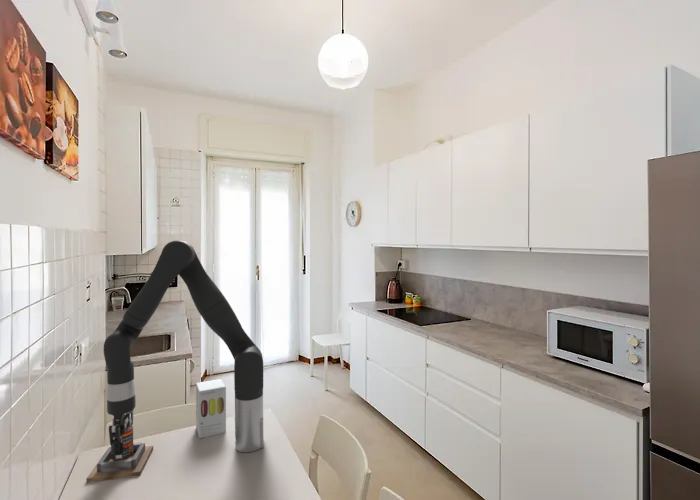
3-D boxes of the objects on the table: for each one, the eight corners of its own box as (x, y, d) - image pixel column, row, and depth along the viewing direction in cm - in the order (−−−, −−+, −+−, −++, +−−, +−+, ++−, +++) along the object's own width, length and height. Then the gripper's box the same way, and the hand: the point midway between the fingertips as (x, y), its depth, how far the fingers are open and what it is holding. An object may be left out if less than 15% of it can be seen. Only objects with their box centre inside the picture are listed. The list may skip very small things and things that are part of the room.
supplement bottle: (123, 463, 111) (122, 426, 111) (106, 461, 113) (105, 424, 112) (138, 452, 117) (137, 417, 117) (122, 450, 119) (121, 415, 118)
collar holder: (153, 449, 124) (153, 438, 123) (140, 475, 110) (140, 463, 110) (105, 455, 120) (105, 443, 120) (86, 482, 107) (86, 470, 106)
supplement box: (198, 439, 130) (197, 391, 129) (195, 427, 138) (194, 382, 137) (226, 432, 135) (226, 386, 134) (222, 421, 143) (221, 377, 142)
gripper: (126, 403, 108) (128, 460, 109) (141, 384, 122) (142, 435, 123) (97, 406, 107) (99, 464, 107) (116, 387, 120) (117, 438, 121)
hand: (122, 448), depth 115 cm, fingers closed on supplement bottle, 6 cm apart
